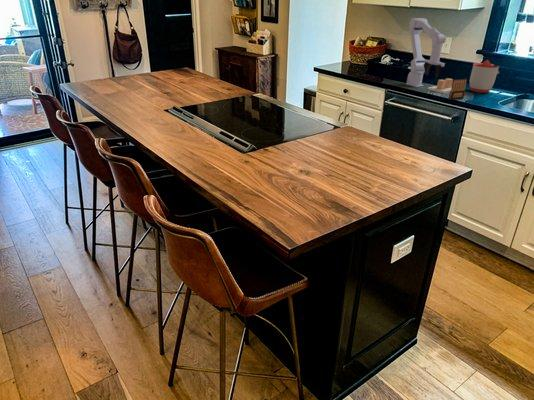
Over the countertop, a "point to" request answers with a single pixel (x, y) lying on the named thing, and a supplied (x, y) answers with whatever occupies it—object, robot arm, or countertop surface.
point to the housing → (446, 90)
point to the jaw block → (441, 84)
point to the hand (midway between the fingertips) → (431, 76)
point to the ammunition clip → (457, 90)
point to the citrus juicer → (483, 77)
